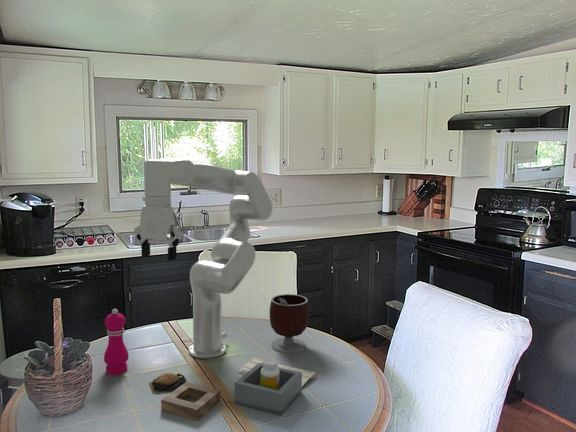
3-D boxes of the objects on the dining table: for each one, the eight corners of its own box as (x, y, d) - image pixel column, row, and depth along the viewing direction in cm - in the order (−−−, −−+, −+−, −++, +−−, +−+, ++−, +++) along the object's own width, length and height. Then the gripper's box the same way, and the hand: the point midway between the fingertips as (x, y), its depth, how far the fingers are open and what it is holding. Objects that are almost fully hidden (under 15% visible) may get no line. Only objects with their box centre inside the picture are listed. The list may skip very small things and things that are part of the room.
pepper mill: (121, 377, 149) (119, 313, 147) (99, 374, 151) (97, 311, 148) (133, 366, 156) (131, 306, 154) (112, 364, 158) (110, 304, 155)
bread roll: (152, 397, 139) (152, 384, 139) (148, 383, 147) (148, 372, 146) (190, 390, 144) (189, 378, 143) (184, 377, 151) (183, 366, 151)
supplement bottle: (256, 396, 137) (257, 363, 136) (263, 388, 142) (265, 356, 141) (274, 400, 135) (276, 367, 134) (281, 392, 140) (282, 359, 139)
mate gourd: (279, 336, 184) (280, 284, 182) (313, 342, 179) (315, 289, 176) (259, 351, 171) (260, 295, 168) (296, 358, 165) (297, 301, 162)
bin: (258, 381, 148) (258, 362, 147) (301, 392, 142) (301, 372, 142) (234, 403, 135) (234, 382, 135) (280, 415, 130) (281, 394, 129)
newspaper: (318, 375, 154) (318, 368, 154) (300, 396, 144) (299, 388, 143) (257, 359, 165) (256, 352, 165) (236, 377, 155) (235, 369, 154)
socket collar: (186, 391, 141) (186, 381, 141) (220, 400, 137) (220, 390, 136) (161, 410, 131) (161, 399, 131) (197, 420, 127) (197, 409, 126)
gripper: (126, 200, 146) (127, 257, 148) (174, 204, 139) (174, 264, 141) (143, 198, 152) (144, 252, 155) (189, 202, 145) (190, 258, 148)
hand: (158, 258), depth 148 cm, fingers open, 9 cm apart
